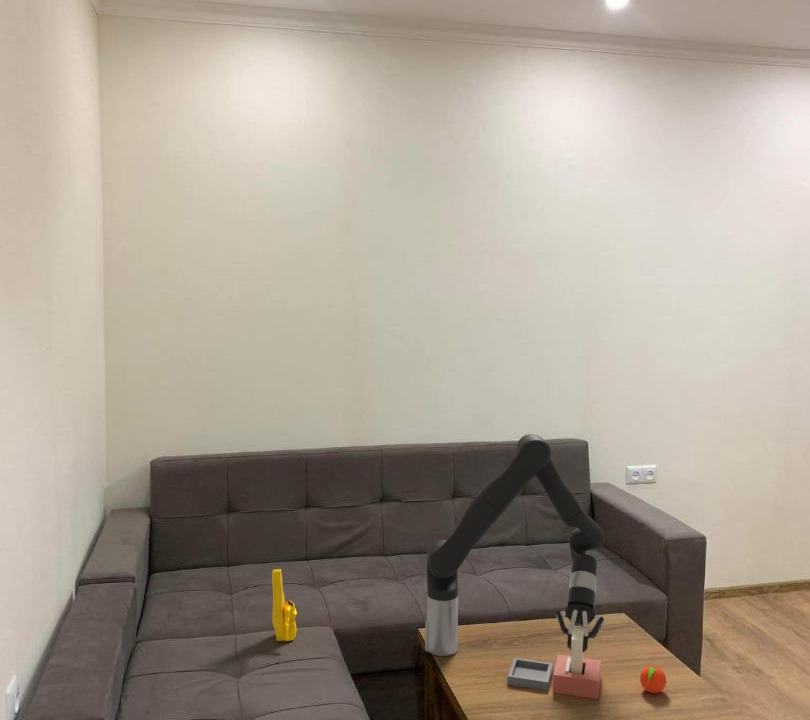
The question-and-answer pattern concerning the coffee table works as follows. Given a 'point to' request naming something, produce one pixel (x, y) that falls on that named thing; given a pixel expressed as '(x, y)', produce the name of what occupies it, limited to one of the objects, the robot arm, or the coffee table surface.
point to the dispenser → (577, 678)
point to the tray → (530, 673)
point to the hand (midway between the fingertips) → (577, 650)
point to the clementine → (653, 679)
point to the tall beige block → (577, 651)
